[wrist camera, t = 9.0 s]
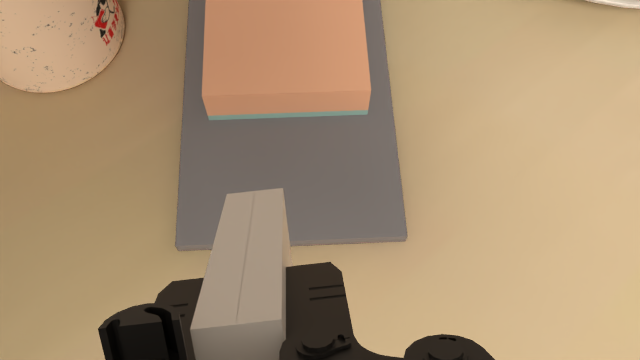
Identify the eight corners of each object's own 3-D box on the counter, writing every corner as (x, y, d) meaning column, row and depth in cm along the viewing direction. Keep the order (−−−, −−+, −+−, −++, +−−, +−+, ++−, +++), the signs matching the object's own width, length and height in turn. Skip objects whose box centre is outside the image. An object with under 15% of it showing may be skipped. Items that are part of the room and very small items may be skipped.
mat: (405, 241, 32) (407, 236, 31) (178, 250, 32) (175, 246, 31) (373, -42, 41) (374, -51, 40) (193, -37, 40) (191, -46, 39)
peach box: (371, 90, 32) (355, -74, 37) (201, 96, 32) (208, -70, 37) (367, 114, 34) (352, -44, 40) (209, 120, 34) (214, -40, 39)
